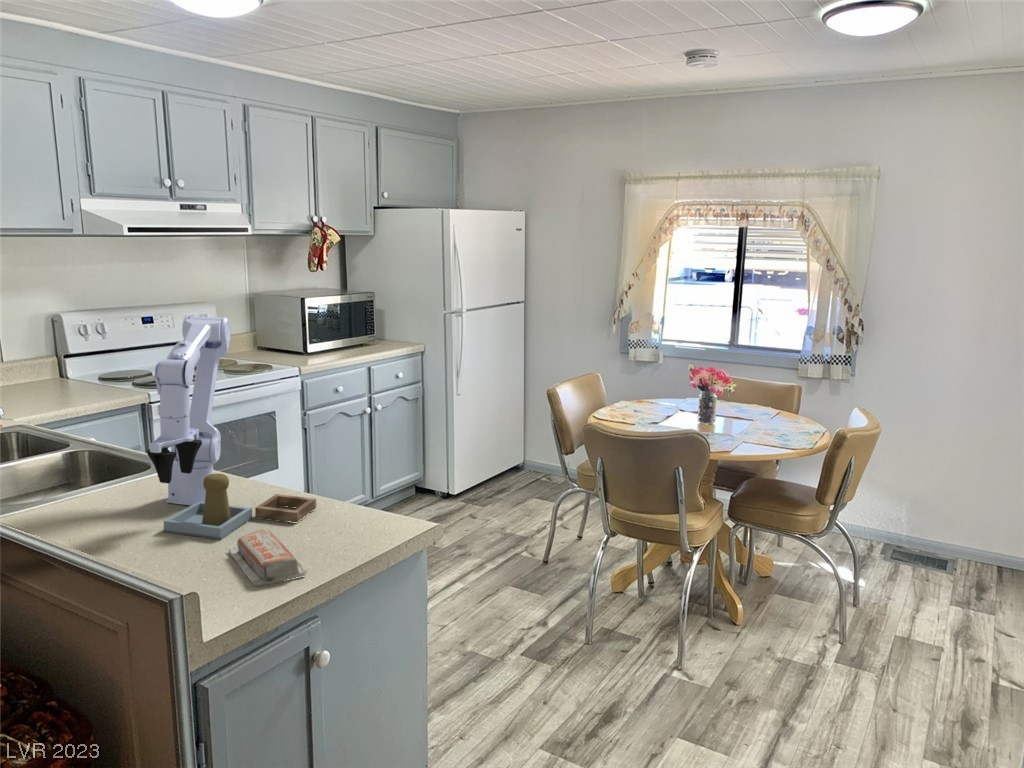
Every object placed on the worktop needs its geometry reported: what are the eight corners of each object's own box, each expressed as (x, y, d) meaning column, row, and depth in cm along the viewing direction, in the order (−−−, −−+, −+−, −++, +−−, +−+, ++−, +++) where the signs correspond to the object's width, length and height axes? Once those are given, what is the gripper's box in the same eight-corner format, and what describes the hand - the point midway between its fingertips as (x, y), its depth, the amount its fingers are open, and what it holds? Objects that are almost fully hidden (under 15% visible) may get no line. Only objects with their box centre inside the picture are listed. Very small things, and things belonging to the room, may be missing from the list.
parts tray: (163, 532, 165) (163, 521, 165) (199, 511, 178) (198, 501, 178) (220, 539, 163) (220, 528, 163) (252, 518, 176) (252, 508, 175)
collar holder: (255, 518, 176) (255, 507, 176) (276, 504, 186) (276, 493, 185) (297, 523, 175) (297, 512, 174) (316, 508, 184) (316, 498, 184)
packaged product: (308, 555, 148) (254, 565, 142) (308, 579, 149) (255, 590, 143) (277, 523, 162) (227, 531, 157) (277, 545, 163) (228, 554, 158)
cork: (227, 529, 168) (226, 479, 166) (198, 528, 167) (197, 478, 165) (234, 519, 174) (234, 471, 172) (206, 518, 173) (206, 470, 171)
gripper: (171, 424, 159) (172, 489, 161) (211, 410, 173) (211, 470, 175) (140, 421, 160) (141, 485, 162) (182, 407, 174) (182, 467, 176)
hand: (175, 477), depth 169 cm, fingers open, 7 cm apart
